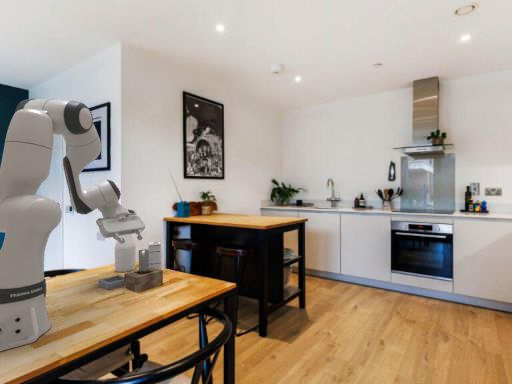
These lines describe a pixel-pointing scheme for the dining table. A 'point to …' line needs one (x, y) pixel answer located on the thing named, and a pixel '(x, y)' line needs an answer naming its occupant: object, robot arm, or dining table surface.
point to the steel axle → (143, 261)
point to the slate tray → (111, 282)
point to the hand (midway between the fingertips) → (132, 240)
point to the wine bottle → (125, 254)
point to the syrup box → (154, 255)
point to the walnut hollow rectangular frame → (143, 280)
